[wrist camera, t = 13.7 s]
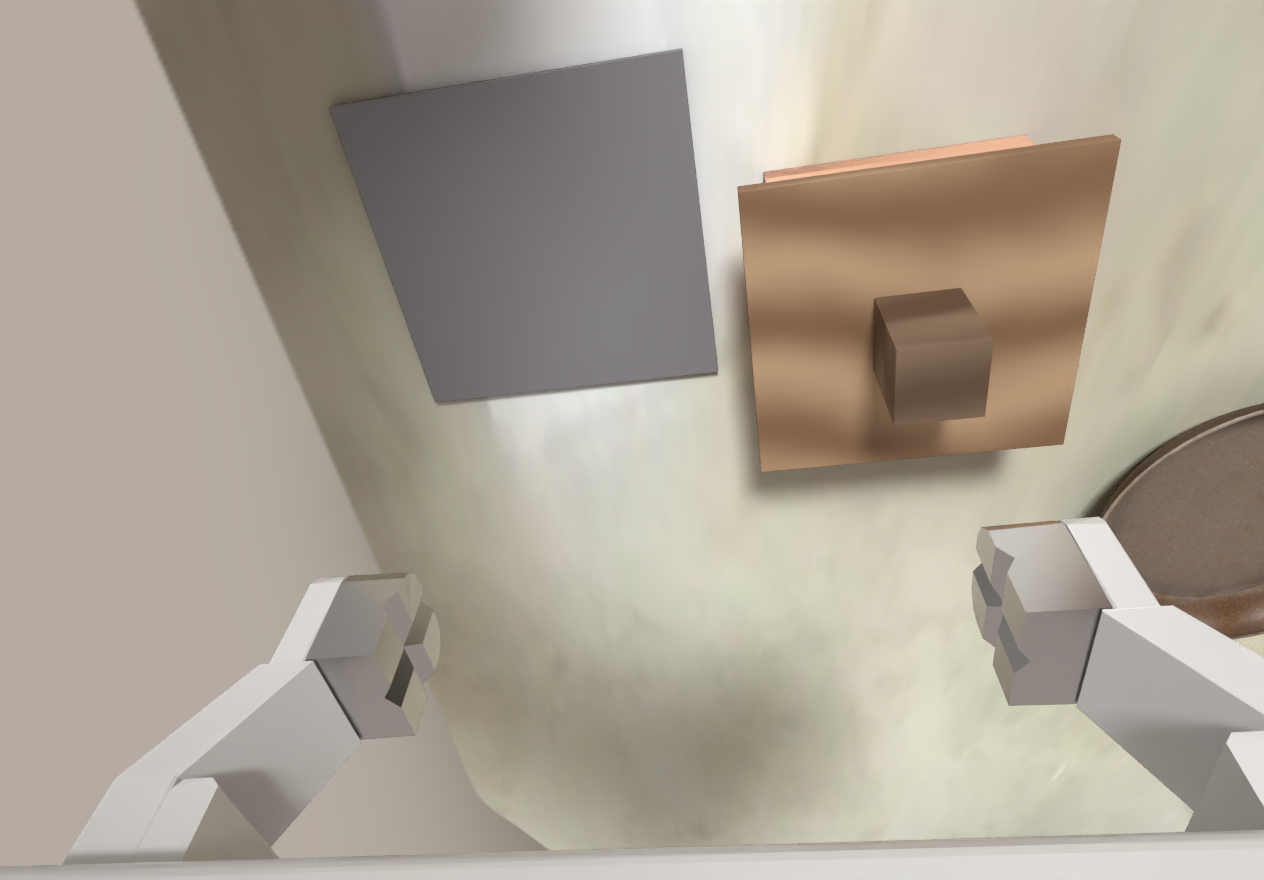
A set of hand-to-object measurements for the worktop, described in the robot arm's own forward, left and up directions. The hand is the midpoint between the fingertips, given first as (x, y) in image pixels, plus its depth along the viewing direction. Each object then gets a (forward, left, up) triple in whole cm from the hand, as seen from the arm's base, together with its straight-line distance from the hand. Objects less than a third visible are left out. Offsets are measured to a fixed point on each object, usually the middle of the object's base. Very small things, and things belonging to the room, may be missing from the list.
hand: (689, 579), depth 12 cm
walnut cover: (+12, +10, -28) cm, 32 cm away
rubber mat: (+8, -9, -34) cm, 36 cm away
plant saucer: (+32, +33, -35) cm, 57 cm away
